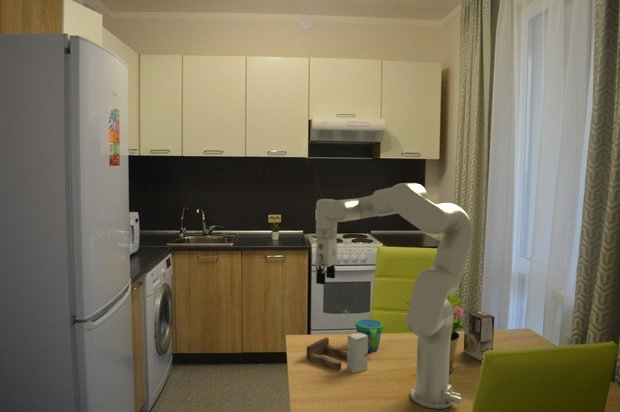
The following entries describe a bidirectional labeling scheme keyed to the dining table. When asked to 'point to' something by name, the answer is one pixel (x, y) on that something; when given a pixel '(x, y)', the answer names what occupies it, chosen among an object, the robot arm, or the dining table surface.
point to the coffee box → (478, 333)
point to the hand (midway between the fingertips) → (325, 280)
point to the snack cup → (370, 332)
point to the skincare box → (357, 352)
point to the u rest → (323, 347)
